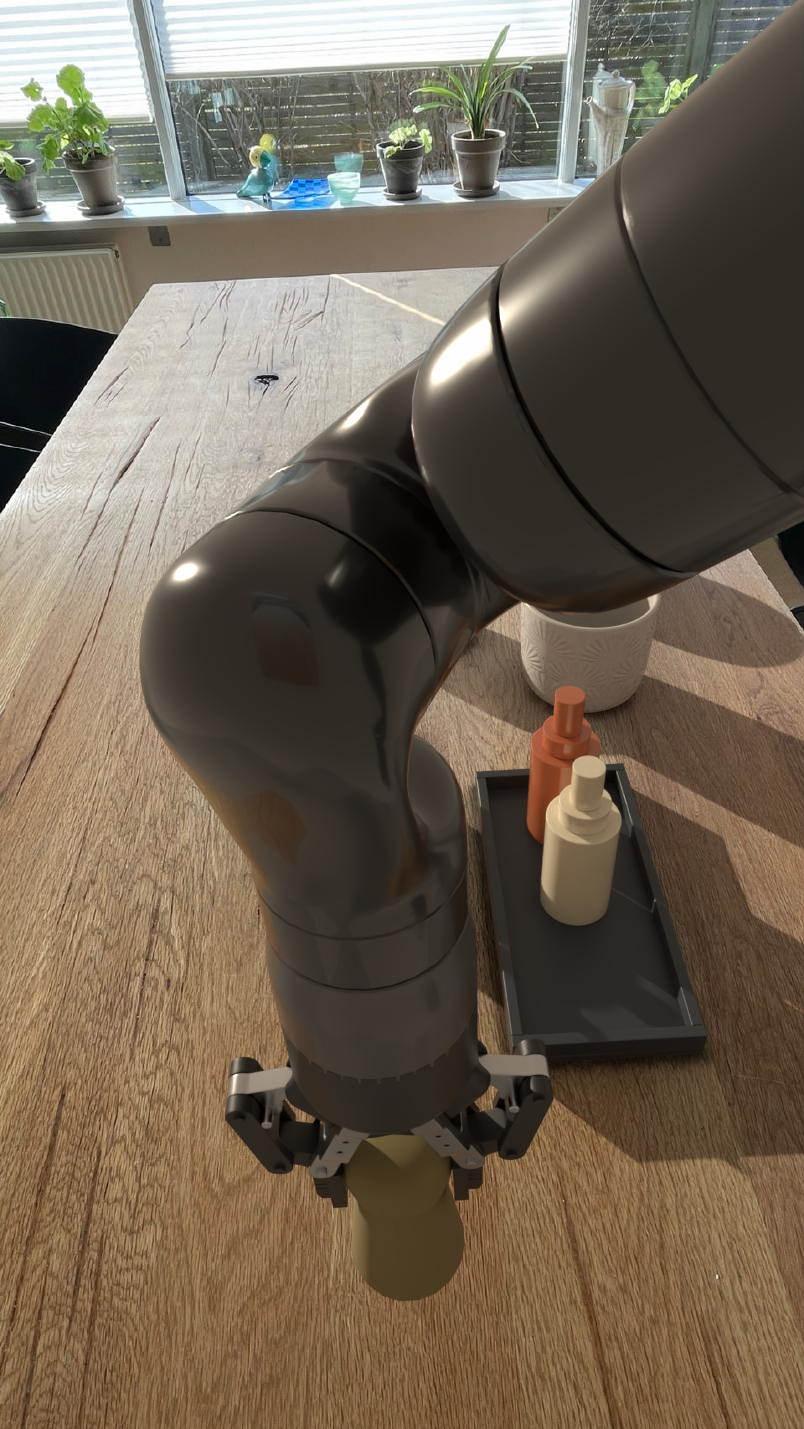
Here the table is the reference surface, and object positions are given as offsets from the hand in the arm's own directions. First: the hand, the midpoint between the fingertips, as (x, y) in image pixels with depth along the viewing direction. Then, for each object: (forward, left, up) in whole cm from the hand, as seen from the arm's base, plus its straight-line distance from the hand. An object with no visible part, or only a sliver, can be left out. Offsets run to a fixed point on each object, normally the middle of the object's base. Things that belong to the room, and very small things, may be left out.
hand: (401, 1183), depth 46 cm
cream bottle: (+13, -25, -11) cm, 30 cm away
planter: (+32, -44, -12) cm, 56 cm away
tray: (+13, -25, -12) cm, 31 cm away
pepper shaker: (0, 0, -7) cm, 7 cm away
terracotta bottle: (+19, -29, -11) cm, 37 cm away
